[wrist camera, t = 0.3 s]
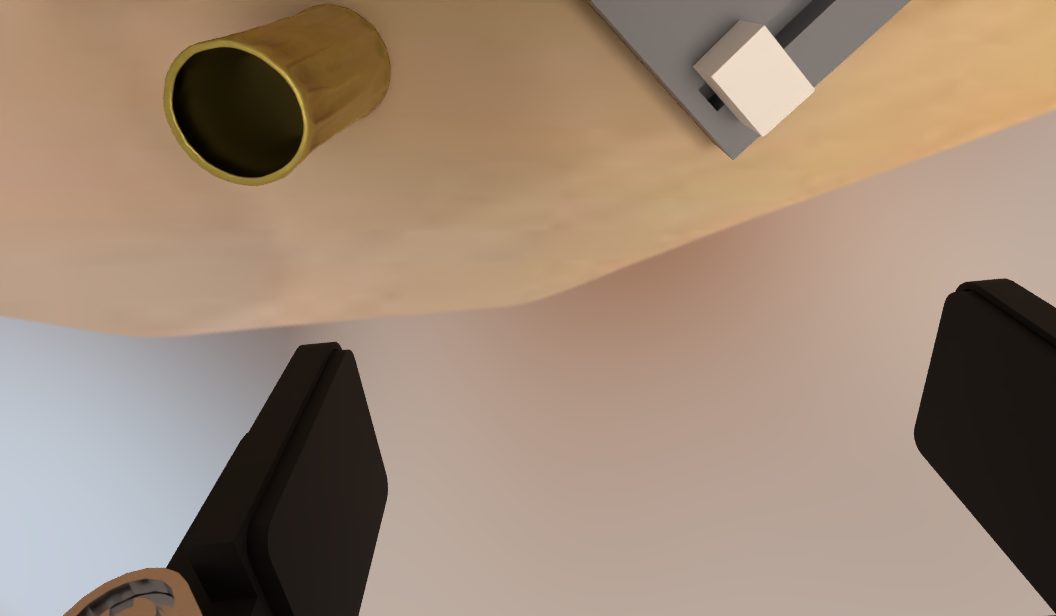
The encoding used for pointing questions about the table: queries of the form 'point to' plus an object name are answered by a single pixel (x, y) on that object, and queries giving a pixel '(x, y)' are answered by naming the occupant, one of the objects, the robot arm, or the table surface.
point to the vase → (274, 92)
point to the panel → (708, 14)
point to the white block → (754, 76)
